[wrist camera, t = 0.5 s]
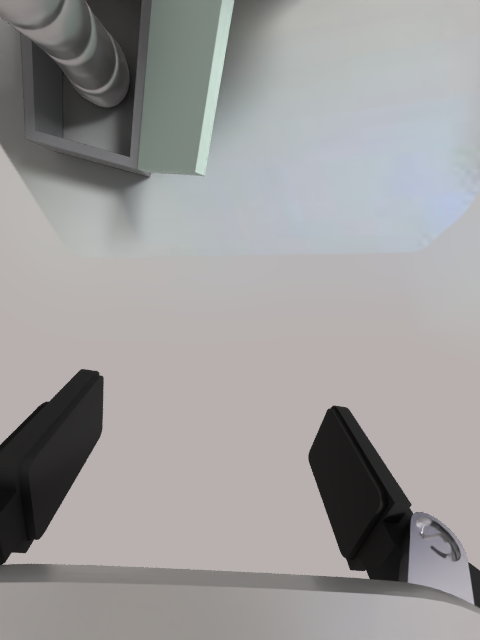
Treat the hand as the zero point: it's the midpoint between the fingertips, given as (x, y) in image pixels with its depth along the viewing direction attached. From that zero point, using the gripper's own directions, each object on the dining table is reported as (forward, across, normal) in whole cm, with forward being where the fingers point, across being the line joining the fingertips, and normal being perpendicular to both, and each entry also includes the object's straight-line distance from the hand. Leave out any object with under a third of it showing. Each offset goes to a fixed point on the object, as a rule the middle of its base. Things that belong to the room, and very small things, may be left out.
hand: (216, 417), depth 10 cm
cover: (+21, +8, -20) cm, 30 cm away
